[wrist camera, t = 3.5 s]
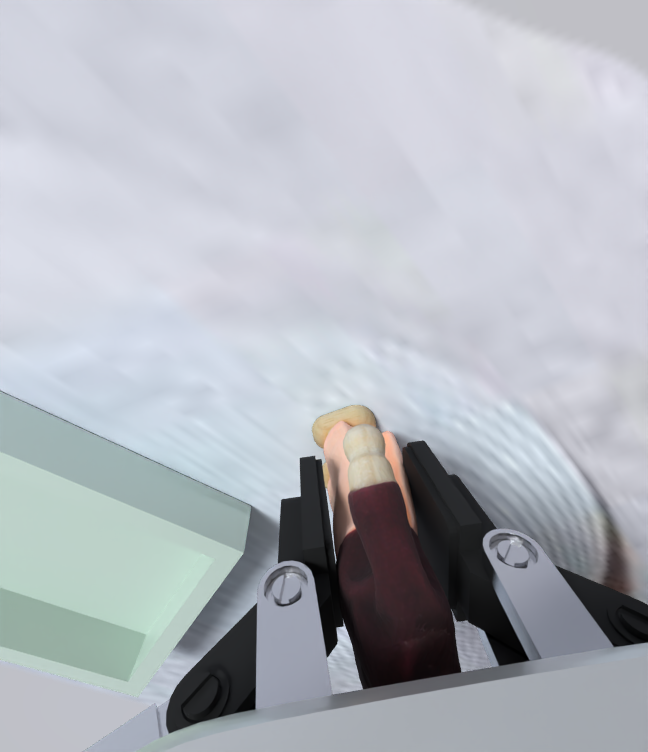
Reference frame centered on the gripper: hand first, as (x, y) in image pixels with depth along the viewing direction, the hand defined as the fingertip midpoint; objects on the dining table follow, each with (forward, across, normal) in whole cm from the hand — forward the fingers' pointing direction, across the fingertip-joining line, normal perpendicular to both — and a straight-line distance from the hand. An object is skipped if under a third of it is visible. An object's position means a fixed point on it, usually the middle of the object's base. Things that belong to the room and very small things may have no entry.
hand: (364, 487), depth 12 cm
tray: (+3, +13, +2) cm, 14 cm away
